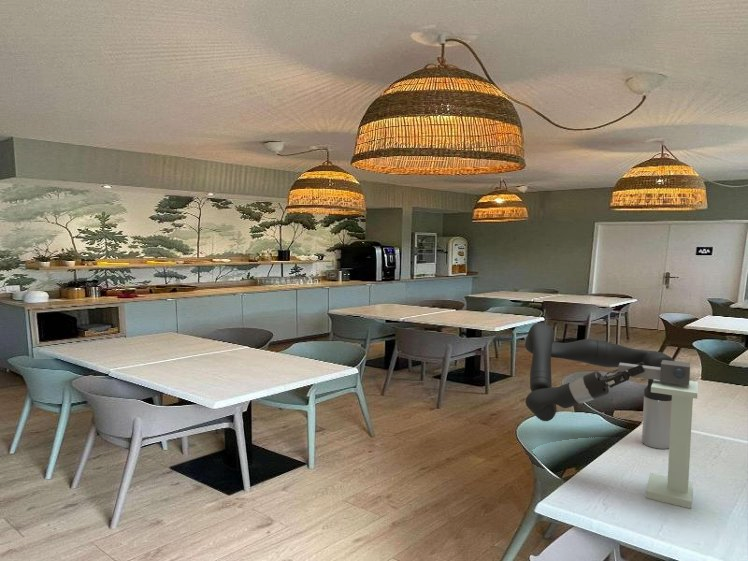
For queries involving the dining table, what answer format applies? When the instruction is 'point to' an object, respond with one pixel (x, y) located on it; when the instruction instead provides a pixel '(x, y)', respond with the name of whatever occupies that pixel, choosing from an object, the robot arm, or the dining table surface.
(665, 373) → the grey block with bar
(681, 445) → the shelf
